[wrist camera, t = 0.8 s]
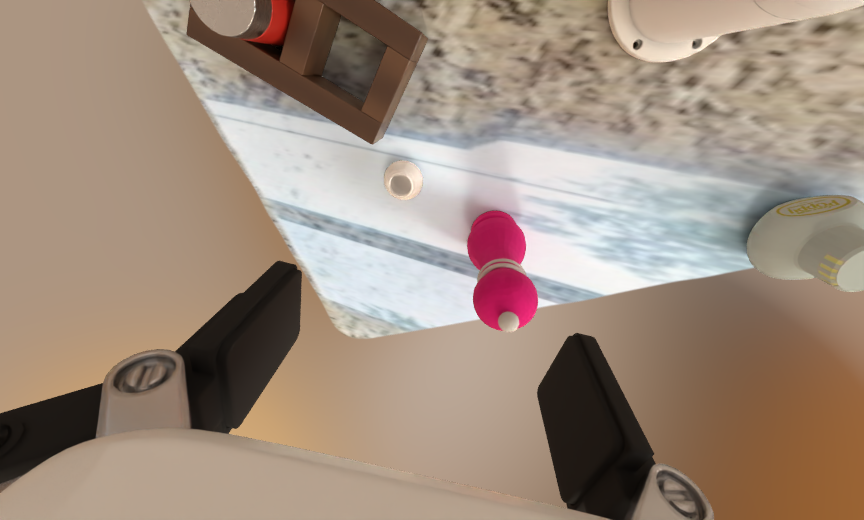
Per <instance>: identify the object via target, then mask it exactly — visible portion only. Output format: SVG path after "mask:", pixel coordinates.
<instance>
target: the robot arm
mask: <svg viewBox="0 0 864 520" xmlns="http://www.w3.org/2000/svg"><path fill="white" fill-rule="evenodd" d="M863 5H864V0H608V18H609V23H610V28H611V30H612V33H613V35H614V38H615V39H616V41H617V42H618V44H619V45H620V46H621V48H622V49H624V50H625V51H626V52H627V53H628V54H629V55H631V56H633V57H635V58H637V59H639V60H643V61H647V62H669V61H675V60H678V59H682V58H685V57H688V56H690V55H692V54H694V53H697V52H699V51H700V50H702V49H703V48H705V47H706V46H708V45H709V44H711V43H712V42H714V41H715V40H716V39H717V38H718V37H719V36H721V35H722V34H728V33H733V32H739V31H745V30H750V29H756V28H761V27H767V26H772V25H778V24H784V23H789V22H795V21H800V20H806V19H811V18H815V17H820V16H826V15H831V14H836V13H840V12H844V11H847V10H851V9H854V8H857V7H860V6H863ZM634 42H635V43H636V47H635V48H633V44H634ZM693 42H694V45H693V46H692V43H693ZM301 278H302V272H301V271H300V270H297V266H296V265H294V264H290V263H286V262H282V261H277V262H276V263H275V264H273V265H272V266H271V267H270V268H269V269H268V270H267V271H266V272H265V273H264V274H263V275H262V276H261V277H260V278H259V279H258V280H257V281H256V282H254V284H252V285H251V286H250V287H249V288H248V289H247V290H246V291H245V292H244V293H239V294H238V295H236V296H235V297H234V298H232V299H231V300H230V301H229V302H228V303H227V304H226V305H225V306H224V307H223V308H222V309H221V310H220V311H218V312H217V313H216V314H215V315H214V316H213V317H212V318H211V319H210V320H209V321H208V322H207V323H205V324H204V325H203V326H202V327H201V328H200V329H199V330H198V331H197V332H196V333H195V334H194V335H193V336H192V337H190V338H189V339H188V340H187V341H186V342H185V343H184V344H183V345H182V346H181V347H180V348H178V349H177V350H176V351H175V352H174V351H171V350H164V349H156V350H149V351H145V352H141V353H137V354H134V355H132V356H130V357H129V358H126V359H124V360H122V361H121V362H119V363H118V364H117V365H115V366H114V367H113V368H112V369H111V370H110V371H109V372H108V374H107V375H106V377H105V380H104V382H103V383H101V384H98V385H95V386H91V387H88V388H85V389H81V390H78V391H74V392H71V393H68V394H65V395H61V396H57V397H54V398H51V399H47V400H44V401H40V402H37V403H34V404H30V405H27V406H24V407H20V408H17V409H13V410H10V411H7V412H4V413H0V520H714V514H713V510H712V508H711V505H710V503H709V501H708V500H707V498H706V497H705V495H704V494H703V492H702V491H701V490H700V489H699V488H698V486H697V485H696V484H695V483H694V482H693V481H692V480H691V479H689V478H688V477H687V476H686V475H685V474H683V473H682V472H680V471H679V470H677V469H676V468H673V467H671V466H668V465H665V464H655V462H654V460H653V458H652V456H653V455H654V453H653V451H652V449H651V447H650V445H649V443H648V441H647V439H646V437H645V435H644V433H643V431H642V429H641V427H640V425H639V423H638V421H637V419H636V418H635V416H634V414H633V411H632V409H631V408H630V406H629V404H628V402H627V400H626V398H625V396H624V394H623V392H622V390H621V388H620V386H619V384H618V382H617V380H616V378H615V376H614V374H613V373H612V370H611V368H610V366H609V365H608V363H607V361H606V359H605V357H604V355H603V353H602V351H601V349H600V347H599V345H598V343H597V341H596V339H595V338H594V337H591V336H587V335H583V334H579V333H575V334H574V335H573V336H569V337H568V338H567V339H566V341H565V342H564V344H563V346H562V348H561V349H560V351H559V353H558V354H557V356H556V358H555V359H554V361H553V363H552V365H551V366H550V368H549V370H548V371H547V373H546V375H545V376H544V378H543V380H542V382H541V383H540V385H539V387H538V392H537V395H538V401H539V405H540V410H541V414H542V418H543V422H544V427H545V431H546V435H547V439H548V444H549V448H550V453H551V457H552V461H553V465H554V470H555V474H556V478H557V483H558V487H559V491H560V495H561V498H562V500H563V501H564V502H565V503H567V508H564V507H560V506H555V505H551V504H546V503H542V502H538V501H533V500H529V499H524V498H520V497H516V496H512V495H507V494H503V493H499V492H494V491H490V490H485V489H481V488H477V487H472V486H468V485H463V484H458V483H454V482H450V481H446V480H441V479H436V478H432V477H428V476H423V475H419V474H414V473H410V472H405V471H401V470H396V469H392V468H387V467H383V466H378V465H373V464H369V463H365V462H360V461H356V460H351V459H346V458H341V457H337V456H332V455H328V454H324V453H319V452H314V451H310V450H305V449H301V448H296V447H291V446H286V445H281V444H276V443H272V442H266V441H261V440H256V439H252V438H247V437H241V436H237V435H231V434H229V432H230V430H231V429H232V428H235V429H236V428H238V427H239V426H240V425H241V424H242V422H243V420H244V419H245V417H246V416H247V414H248V413H249V411H250V410H251V408H252V407H253V405H254V404H255V402H256V401H257V399H258V398H259V396H260V394H261V393H262V392H263V390H264V389H265V387H266V385H267V384H268V382H269V381H270V379H271V378H272V376H273V375H274V373H275V372H276V370H277V369H278V367H279V365H280V364H281V363H282V361H283V360H284V358H285V356H286V355H287V353H288V352H289V350H290V349H291V347H292V346H293V344H294V343H295V341H296V340H297V337H298V334H299V331H300V308H301V306H300V305H301Z"/></svg>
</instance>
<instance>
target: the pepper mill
mask: <svg viewBox="0 0 864 520" xmlns="http://www.w3.org/2000/svg"><path fill="white" fill-rule="evenodd" d="M467 248H468V254H469V257H470V259H471V261H472V262H473V264H474V265H475V266H476V268H477V269H479V270H480V271H479V274H478V278H477V282H478V283H477V285H476V287H475V289H474V294H473V303H474V308H475V311H476V313H477V315H478V316H479V318H480V319H481V320H482V321H483V322H484V323H485V324H486V325H488V326H489V327H491V328H494V329H496V330H501V331H505V332H513V331H515V330H516V329H518V328H520V327H522V326H524V325H526V324H527V323H528V322H529V321H530V320H531V319H532V318H533V316H534V314H535V312H536V310H537V305H538V296H537V291H536V288H535V286H534V285H533V283H532V281H531V280H530V279H529V278H528V277H527V276H526V273H525V271H524V269H523V268H522V266H521V265H520V264H521V262H522V260H523V259H524V255H525V251H526V243H525V237H524V234H523V232H522V230H521V229H520V228H519V226H518V225H516V223H515V221H514V220H513V218H512V217H511V216H510V215H508V214H507V213H504V212H502V211H488V212H485V213H483V214H481V215H480V216H479V217H478V218H477V219H476V220H475V221H474V223H473V225H472V228H471V233H470V235H469V237H468V241H467Z"/></svg>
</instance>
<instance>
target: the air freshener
mask: <svg viewBox="0 0 864 520" xmlns="http://www.w3.org/2000/svg"><path fill="white" fill-rule="evenodd" d="M747 255H748V258H749V260H750V262H751V263H752V265H753V266H754V267H755V268H756V269H757V270H758V271H760V272H761V273H763V274H765V275H767V276H769V277H772V278H777V279H787V280H799V279H810V278H818V279H820V280H822V281H824V282H826V283H827V284H829V285H831V286H833V287H834V288H836V289H838V290H841V291H845V292H856V291H864V203H862V202H861V201H860V200H858V199H856V198H854V197H850V196H844V195H825V196H815V197H808V198H802V199H797V200H793V201H789V202H786V203H783V204H780V205H778V206H776V207H774V208H773V209H771V210H770V211H769V212H767V213H766V214H765V215H764V216H763V217H762V218H761V219H760V220H759V221H758V222H757V223H756V224H755V226H754V227H753V229H752V231H751V233H750V234H749V237H748V241H747Z"/></svg>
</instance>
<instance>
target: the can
mask: <svg viewBox="0 0 864 520" xmlns="http://www.w3.org/2000/svg"><path fill="white" fill-rule="evenodd" d="M189 1H190V3H191V6H192V7H193V9H194V11H195V13H196V14H197V16H198V17H199V18H200V19H201V21H202V22H203V23H204V24H205V25H206V26H208V27H209V28H210V29H211V30H213V31H214V32H216V33H218V34H221V35H224V36H228V37H234V38H239V39H242V40H247V41H253V42H258V43H264V44H269V45H276V46H284V42H285V38H286V34H287V30H288V27H289V23H290V19H291V15H292V11H293V8H294V4H295V0H189Z"/></svg>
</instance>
